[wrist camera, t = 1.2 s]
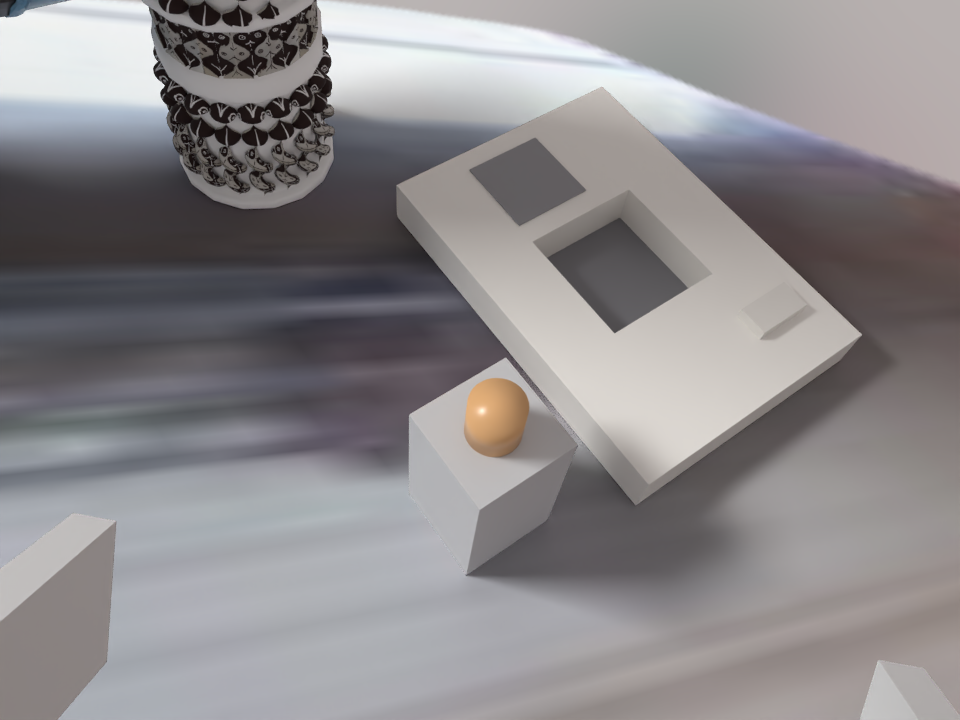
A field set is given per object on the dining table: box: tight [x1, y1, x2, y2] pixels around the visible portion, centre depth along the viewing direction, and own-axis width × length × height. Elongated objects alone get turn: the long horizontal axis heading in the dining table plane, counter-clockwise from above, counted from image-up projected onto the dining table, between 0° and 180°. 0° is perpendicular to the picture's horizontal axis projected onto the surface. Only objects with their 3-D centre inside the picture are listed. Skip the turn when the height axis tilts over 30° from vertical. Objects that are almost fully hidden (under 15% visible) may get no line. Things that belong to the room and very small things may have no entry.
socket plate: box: [396, 87, 862, 505], centre depth 44 cm, size 20×14×3 cm
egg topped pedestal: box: [409, 358, 578, 575], centre depth 35 cm, size 4×4×10 cm
